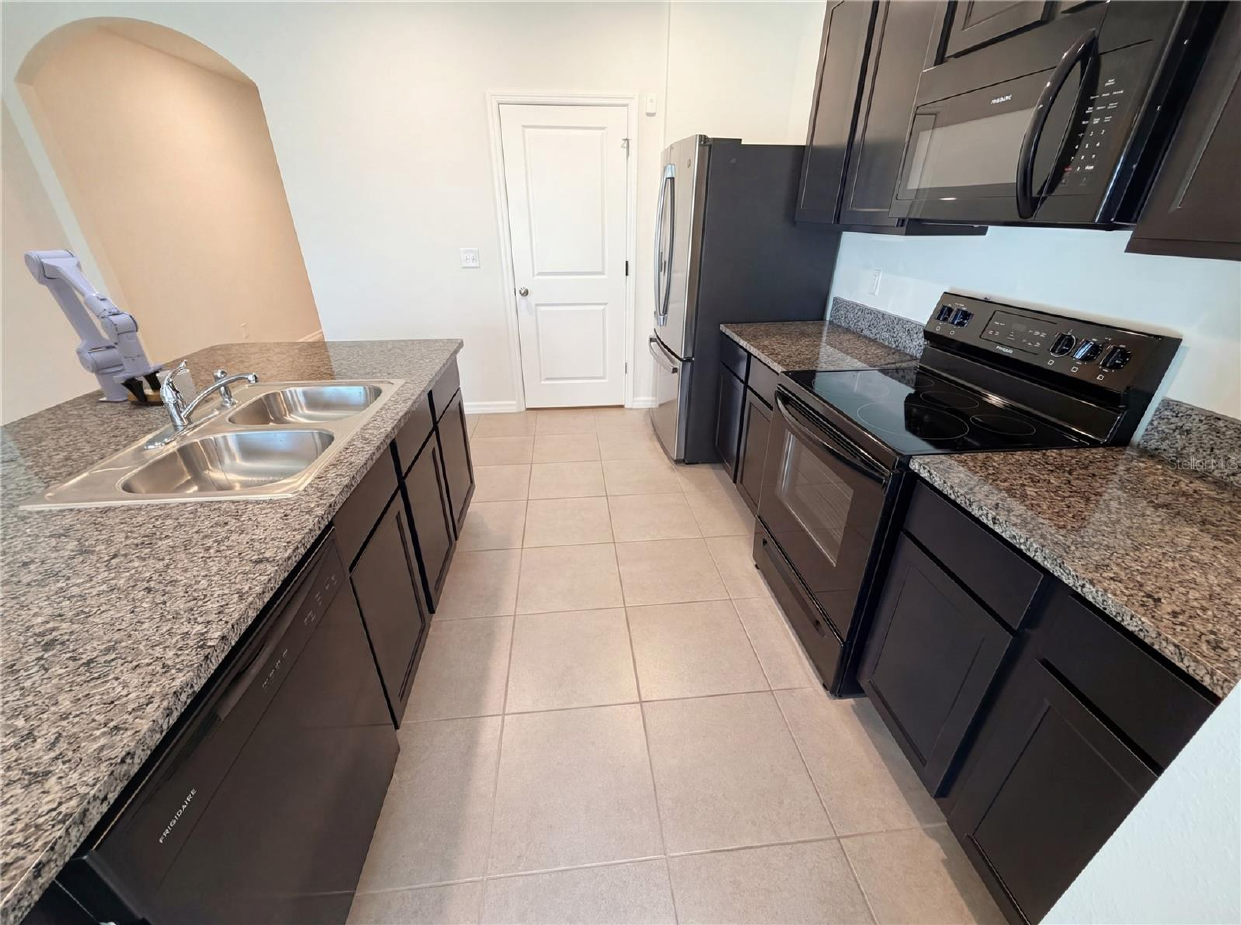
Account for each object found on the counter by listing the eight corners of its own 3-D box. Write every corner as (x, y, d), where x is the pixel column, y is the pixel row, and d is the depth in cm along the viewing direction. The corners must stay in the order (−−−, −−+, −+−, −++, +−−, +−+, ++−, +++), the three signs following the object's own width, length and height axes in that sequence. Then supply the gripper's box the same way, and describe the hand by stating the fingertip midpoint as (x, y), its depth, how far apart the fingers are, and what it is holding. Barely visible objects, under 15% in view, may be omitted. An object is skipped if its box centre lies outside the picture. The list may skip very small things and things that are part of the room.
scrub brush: (130, 404, 156) (125, 393, 155) (144, 400, 161) (139, 389, 159) (163, 405, 156) (158, 394, 154) (175, 401, 160) (171, 390, 158)
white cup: (163, 406, 155) (149, 375, 150) (189, 398, 162) (177, 368, 157) (181, 409, 153) (168, 377, 148) (207, 400, 159) (195, 370, 155)
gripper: (121, 362, 145) (141, 407, 151) (166, 350, 158) (183, 391, 164) (99, 361, 145) (119, 406, 151) (146, 349, 158) (163, 391, 164)
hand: (151, 398), depth 157 cm, fingers open, 5 cm apart
